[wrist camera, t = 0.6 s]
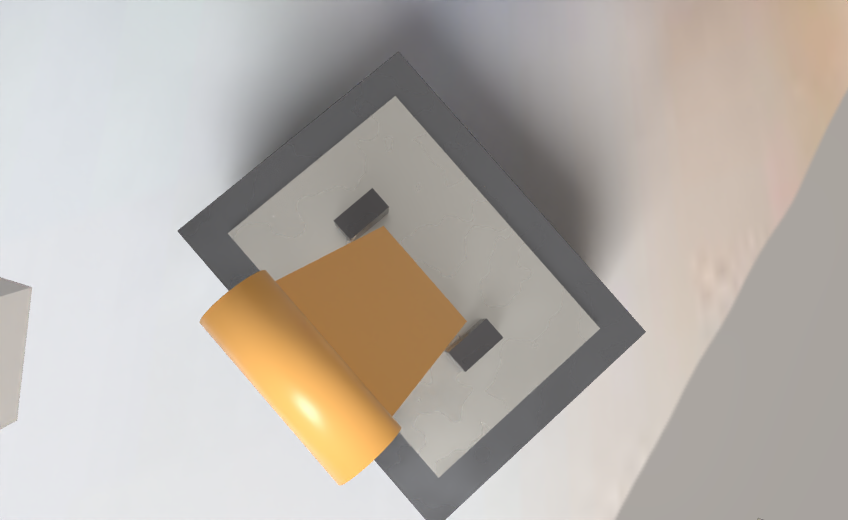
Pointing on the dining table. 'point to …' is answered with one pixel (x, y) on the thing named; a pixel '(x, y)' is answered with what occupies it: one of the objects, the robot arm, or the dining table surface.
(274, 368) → the lever
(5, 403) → the robot arm
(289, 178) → the box
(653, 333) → the dining table surface
